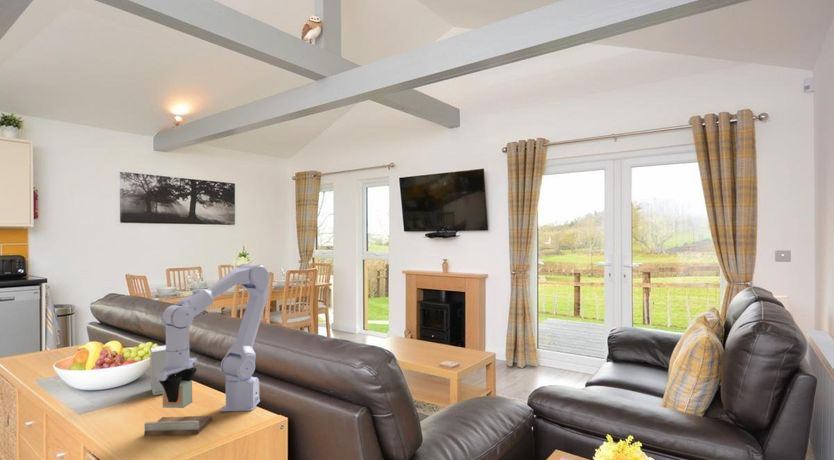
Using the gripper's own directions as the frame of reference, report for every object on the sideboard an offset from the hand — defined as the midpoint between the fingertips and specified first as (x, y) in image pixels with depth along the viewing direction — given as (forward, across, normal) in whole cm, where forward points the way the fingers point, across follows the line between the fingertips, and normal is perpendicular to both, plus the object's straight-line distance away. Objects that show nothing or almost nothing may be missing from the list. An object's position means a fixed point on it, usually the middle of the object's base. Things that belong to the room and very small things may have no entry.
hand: (178, 398), depth 122 cm
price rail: (+7, -4, 0) cm, 8 cm away
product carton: (+2, 0, 0) cm, 2 cm away
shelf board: (+8, 0, 0) cm, 8 cm away
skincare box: (+8, +28, +25) cm, 38 cm away
